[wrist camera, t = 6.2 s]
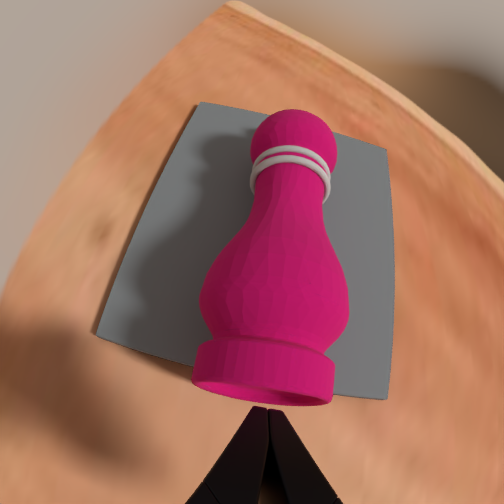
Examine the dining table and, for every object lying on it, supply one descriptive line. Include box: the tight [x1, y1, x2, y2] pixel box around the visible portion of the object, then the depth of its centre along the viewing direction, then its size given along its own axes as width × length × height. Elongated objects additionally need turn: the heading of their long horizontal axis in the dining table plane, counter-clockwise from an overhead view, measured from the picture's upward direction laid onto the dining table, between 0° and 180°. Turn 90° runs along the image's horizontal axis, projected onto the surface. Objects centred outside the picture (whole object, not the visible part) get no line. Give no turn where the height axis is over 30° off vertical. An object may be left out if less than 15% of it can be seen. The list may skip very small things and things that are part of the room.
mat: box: [96, 102, 395, 400], centre depth 23 cm, size 22×18×1 cm
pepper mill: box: [191, 109, 349, 406], centre depth 18 cm, size 7×7×20 cm
